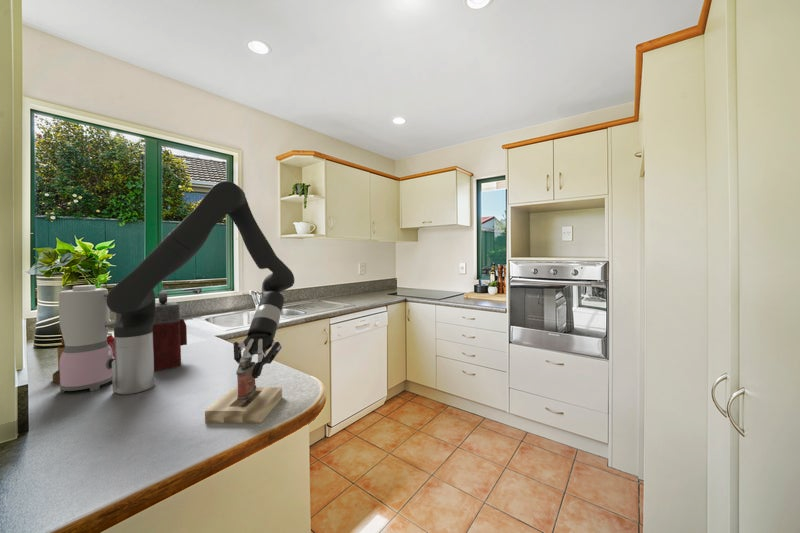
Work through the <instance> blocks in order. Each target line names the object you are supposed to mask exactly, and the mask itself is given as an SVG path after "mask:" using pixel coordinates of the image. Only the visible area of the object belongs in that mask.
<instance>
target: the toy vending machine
mask: <svg viewBox="0 0 800 533" xmlns="http://www.w3.org/2000/svg"><path fill="white" fill-rule="evenodd" d="M180 316H181V314H180V304H178V303H177V302H175V301H168V292H167V291H166V290H165V291H163V290H162V291H158V302H155V322H154V324H153V354H154V372H158V371H164V370H169V369H174V368H178V367H182V348H181V347H183V346H187V345H188V338H187V336H188V334H187V332H188V331H187V324H186V321H185V319H184V318H183V317H180Z"/></svg>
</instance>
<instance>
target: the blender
mask: <svg viewBox="0 0 800 533" xmlns="http://www.w3.org/2000/svg"><path fill="white" fill-rule="evenodd" d="M108 290H109V289H107V288H102V287H101V288H100V287H99V288H96V285H95V284H84V285H83V284H82V285H73V286H72V289H68V290H67V289H65V290H62V291H60V292H59V294H58V319H59V321H58V322H59V328H61V332H62V335H61V337H62V336H63V339H64V343H65V348H64V351H63V353H62V354H61V357H60V360H59V367H60V382H59V383H60V384H59V390H60V393H61V394H63V393H65V392H73V391H79V390H80V391H81V390H86V389H89V392H94V391H98V390H100V386H102V385H105V384H107V383H109V382H111V383H113V382H112V361H114V360H115V359H113V352H112V349H111V347H110V346H109V344H108V342H107V334H108V333H109V329H110V327H111V328H112V327H115V326H116V325H117V324H118V322H119V320H120V318H121V314H118V313H115V312H113V313H114V314H113V315H114V317H113V318H114V319H113V320H110V319H111V317H110V316H111V313H110V312H111V310H110V309H109V308H108V306H107V301H106V300H107V295H108V293H109V291H108Z"/></svg>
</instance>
